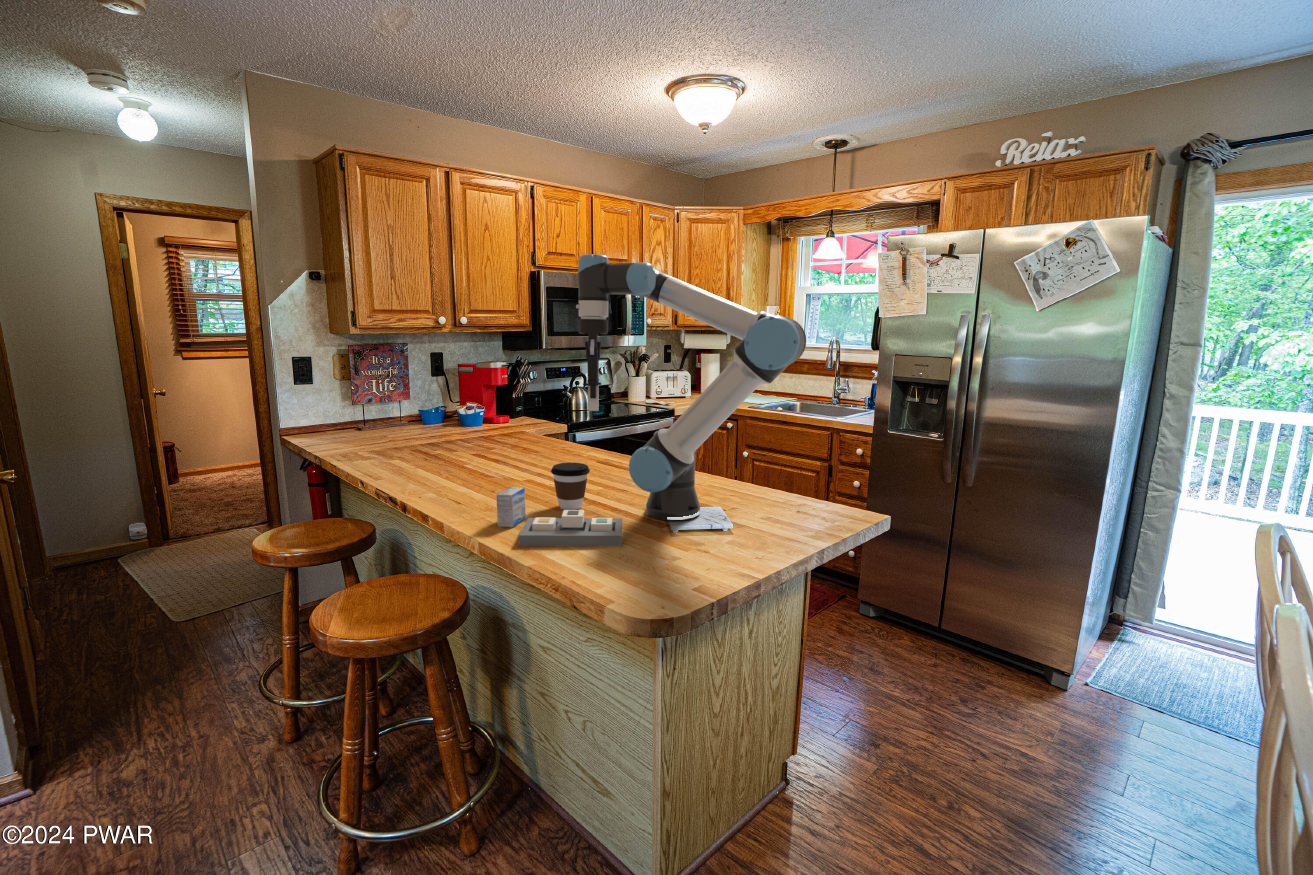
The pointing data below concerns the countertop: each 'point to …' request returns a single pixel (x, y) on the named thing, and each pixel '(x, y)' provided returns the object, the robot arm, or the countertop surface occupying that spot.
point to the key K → (573, 518)
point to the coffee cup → (570, 484)
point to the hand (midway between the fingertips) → (593, 410)
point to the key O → (601, 524)
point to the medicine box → (511, 507)
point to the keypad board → (571, 535)
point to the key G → (544, 524)
